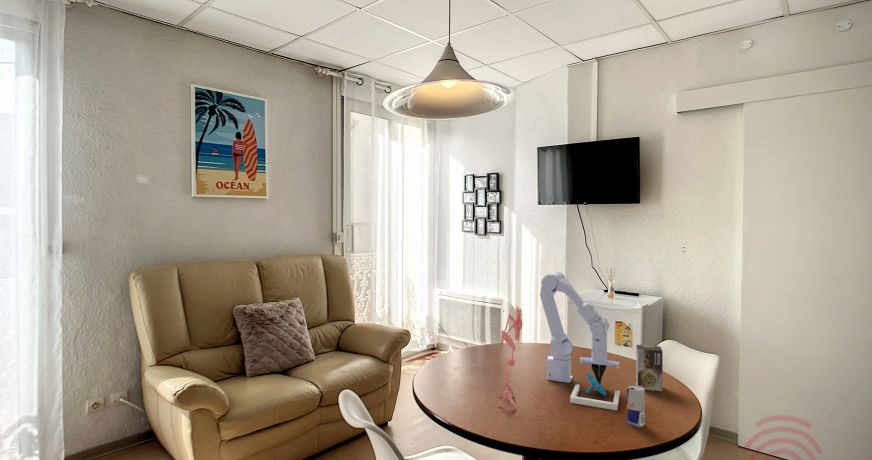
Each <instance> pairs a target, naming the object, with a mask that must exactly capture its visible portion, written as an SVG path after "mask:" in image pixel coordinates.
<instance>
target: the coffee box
mask: <svg viewBox="0 0 872 460" xmlns="http://www.w3.org/2000/svg"><path fill="white" fill-rule="evenodd" d="M635 347H636V349H635V351H636V356H635V357H636V358H635V359H636V361H635V363H636V364H635V365H636V367H635V370H636V371H635V375H636V376H635V380H636V381H635V385H638V386H641V387H643V388H644V390H645V391H646V390H647V391H655V392H663V352H664V351H663V349H662V347H661V346H659V345H648V344H646V345H645V344H636V346H635Z"/></svg>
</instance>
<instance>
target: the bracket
mask: <svg viewBox="0 0 872 460" xmlns="http://www.w3.org/2000/svg"><path fill="white" fill-rule="evenodd" d="M580 387H581V386H580V384H578V383H577V384H575V385H574V387H573V390H572V392H571V394H570V396H569V402H570V403H571V404H576V405H577V404H578V405H584V406H588V407H593V408H598V409H599V408H600V409H607V410H612V411H618V408H619V401H620V395H621V394H620V392H621V391H620V390H615V391H614V396H613V401H605V400H599V399H593V398H589V397H587V398H586V397H583V396H582V397H580V396H578V395H579V393H580Z"/></svg>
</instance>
